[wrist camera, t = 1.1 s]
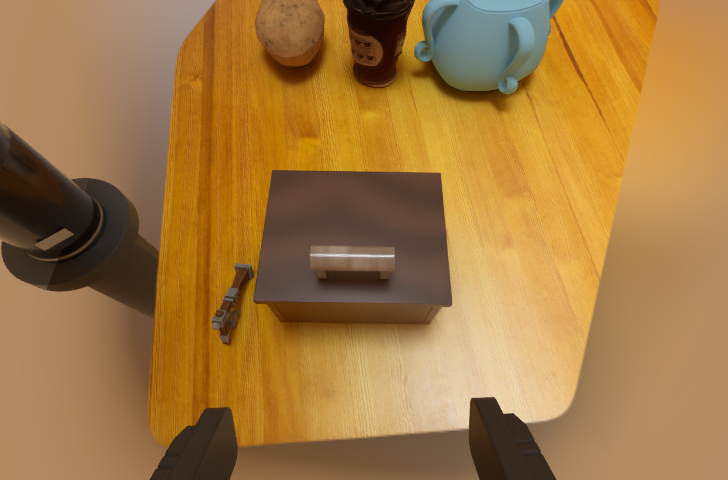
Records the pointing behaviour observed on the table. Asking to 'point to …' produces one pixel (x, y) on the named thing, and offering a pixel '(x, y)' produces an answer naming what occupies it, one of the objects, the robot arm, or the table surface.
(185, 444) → the robot arm
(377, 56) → the coffee cup
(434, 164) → the table surface
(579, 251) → the table surface
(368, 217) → the lid
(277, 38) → the potato
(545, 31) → the decorative pot
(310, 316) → the wooden storage box
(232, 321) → the wooden post with brackets
